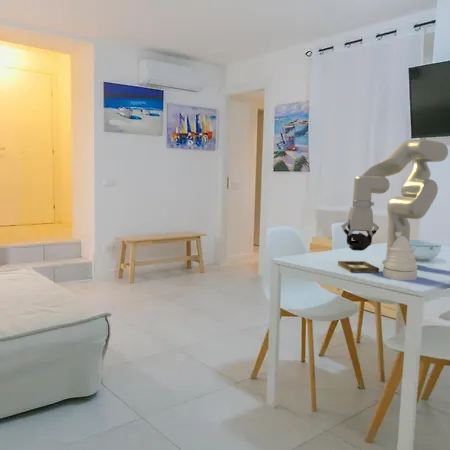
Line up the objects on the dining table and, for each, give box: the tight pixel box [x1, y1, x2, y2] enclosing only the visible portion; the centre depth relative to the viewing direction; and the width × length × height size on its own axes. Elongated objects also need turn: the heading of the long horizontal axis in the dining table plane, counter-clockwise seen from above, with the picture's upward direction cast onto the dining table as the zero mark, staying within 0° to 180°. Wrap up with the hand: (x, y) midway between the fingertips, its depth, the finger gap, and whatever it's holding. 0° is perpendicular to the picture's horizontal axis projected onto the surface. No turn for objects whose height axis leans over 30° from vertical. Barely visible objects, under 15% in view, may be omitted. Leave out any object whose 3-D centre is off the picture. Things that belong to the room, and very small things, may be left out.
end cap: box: [348, 232, 370, 252], centre depth 193 cm, size 10×7×7 cm
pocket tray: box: [337, 260, 380, 273], centre depth 195 cm, size 12×15×2 cm
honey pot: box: [382, 232, 418, 281], centre depth 180 cm, size 13×13×18 cm
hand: (358, 244), depth 194 cm, fingers closed on end cap, 8 cm apart
